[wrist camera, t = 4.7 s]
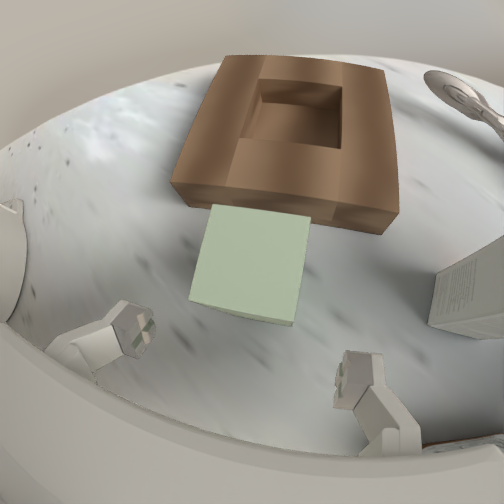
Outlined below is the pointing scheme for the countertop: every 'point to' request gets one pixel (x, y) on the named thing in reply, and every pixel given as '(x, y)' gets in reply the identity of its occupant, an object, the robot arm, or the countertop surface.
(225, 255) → the green block
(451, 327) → the skincare box
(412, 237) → the countertop surface
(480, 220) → the countertop surface
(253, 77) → the walnut holder
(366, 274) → the countertop surface
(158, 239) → the countertop surface
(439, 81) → the spaceship
